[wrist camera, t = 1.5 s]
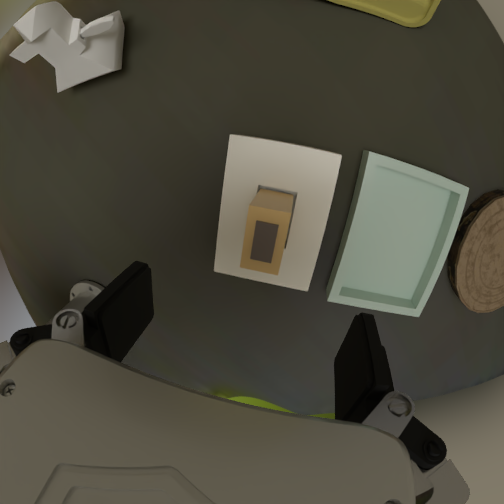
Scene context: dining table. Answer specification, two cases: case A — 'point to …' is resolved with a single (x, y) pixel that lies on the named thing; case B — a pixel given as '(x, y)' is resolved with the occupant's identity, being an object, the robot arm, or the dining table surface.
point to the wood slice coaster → (479, 254)
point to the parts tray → (395, 236)
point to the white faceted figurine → (71, 43)
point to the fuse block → (282, 179)
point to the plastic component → (396, 9)
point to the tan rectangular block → (266, 231)
